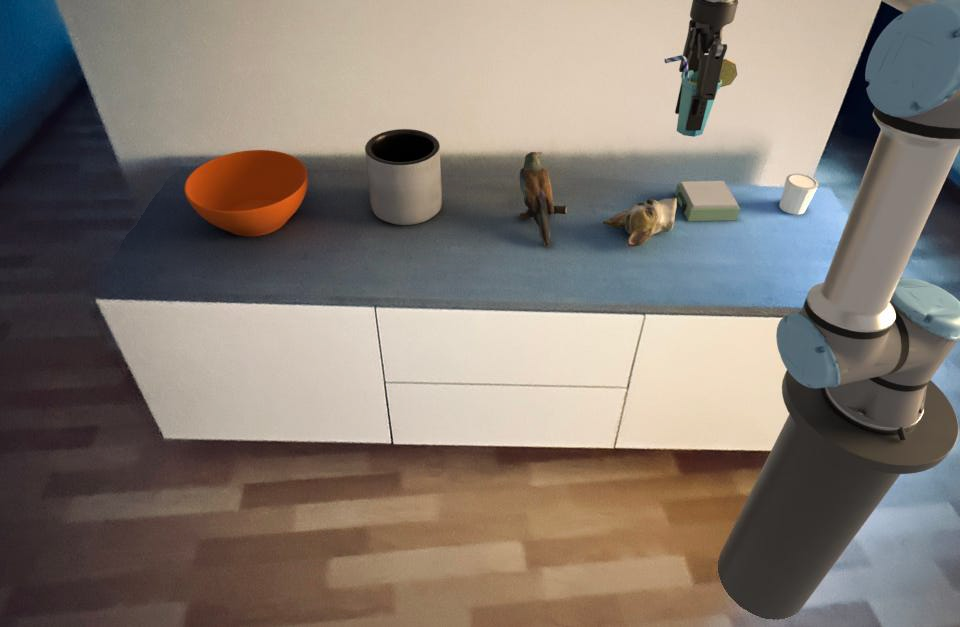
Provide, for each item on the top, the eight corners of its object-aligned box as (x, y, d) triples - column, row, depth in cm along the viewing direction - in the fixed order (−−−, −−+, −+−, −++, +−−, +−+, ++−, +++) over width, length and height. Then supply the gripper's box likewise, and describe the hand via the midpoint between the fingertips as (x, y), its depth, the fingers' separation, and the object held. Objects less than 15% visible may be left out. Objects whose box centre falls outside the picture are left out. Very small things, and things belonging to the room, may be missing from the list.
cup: (657, 141, 129) (672, 64, 119) (644, 123, 135) (658, 47, 125) (726, 138, 130) (748, 61, 120) (711, 119, 136) (731, 45, 126)
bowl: (336, 221, 148) (330, 181, 142) (230, 268, 136) (218, 227, 129) (278, 176, 162) (270, 138, 155) (177, 215, 149) (163, 175, 143)
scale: (736, 220, 150) (741, 205, 148) (684, 221, 150) (688, 206, 147) (721, 193, 158) (725, 179, 156) (671, 194, 158) (675, 180, 155)
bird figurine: (575, 245, 141) (571, 147, 137) (528, 248, 140) (523, 150, 137) (561, 240, 154) (557, 150, 150) (518, 243, 153) (513, 153, 150)
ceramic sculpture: (693, 204, 139) (631, 224, 135) (686, 238, 144) (626, 258, 140) (662, 179, 146) (602, 198, 142) (657, 213, 152) (599, 231, 148)
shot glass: (800, 199, 157) (810, 172, 152) (813, 215, 152) (824, 188, 147) (771, 199, 157) (781, 173, 152) (783, 216, 151) (793, 189, 147)
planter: (456, 209, 152) (456, 147, 142) (400, 237, 144) (394, 173, 134) (413, 181, 161) (409, 120, 150) (357, 206, 153) (349, 143, 142)
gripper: (678, -21, 123) (655, 100, 138) (713, 15, 108) (683, 145, 124) (719, -22, 123) (691, 99, 139) (758, 14, 109) (723, 144, 124)
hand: (687, 121), depth 131 cm, fingers closed on cup, 6 cm apart
